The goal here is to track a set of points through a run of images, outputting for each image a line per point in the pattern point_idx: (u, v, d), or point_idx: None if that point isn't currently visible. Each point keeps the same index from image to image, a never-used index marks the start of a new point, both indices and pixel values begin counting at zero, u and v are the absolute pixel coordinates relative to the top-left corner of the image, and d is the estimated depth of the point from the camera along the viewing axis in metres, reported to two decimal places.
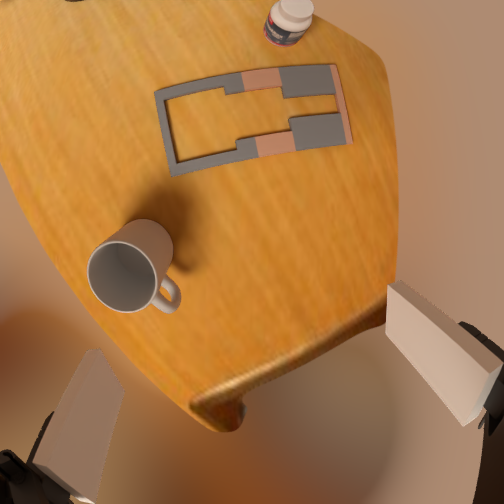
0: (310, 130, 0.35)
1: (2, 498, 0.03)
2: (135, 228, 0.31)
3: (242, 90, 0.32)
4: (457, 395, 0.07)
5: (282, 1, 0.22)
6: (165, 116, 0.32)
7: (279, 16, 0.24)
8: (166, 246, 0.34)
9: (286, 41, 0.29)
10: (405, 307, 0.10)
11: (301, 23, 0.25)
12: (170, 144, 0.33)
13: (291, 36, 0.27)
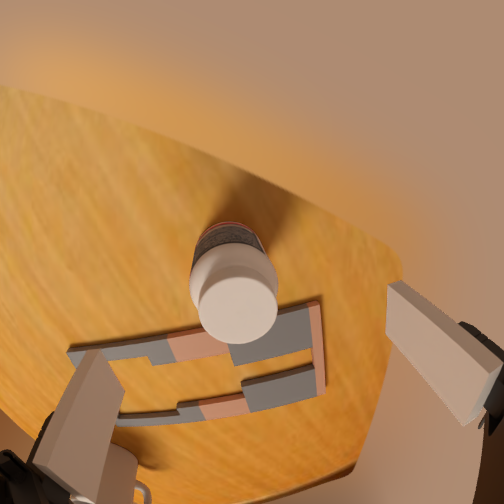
0: (269, 394, 0.27)
1: (2, 498, 0.03)
2: None
3: (173, 361, 0.24)
4: (457, 395, 0.07)
5: (202, 311, 0.14)
6: None
7: None
8: (129, 474, 0.26)
9: None
10: (405, 307, 0.10)
11: None
12: None
13: None
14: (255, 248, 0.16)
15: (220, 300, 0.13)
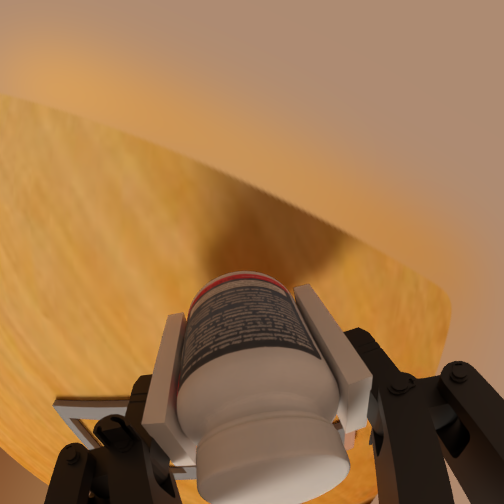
0: None
1: (86, 483, 0.05)
2: None
3: None
4: None
5: (204, 492, 0.05)
6: (82, 434, 0.18)
7: None
8: None
9: None
10: (303, 310, 0.12)
11: None
12: None
13: None
14: (306, 354, 0.07)
15: (241, 483, 0.05)
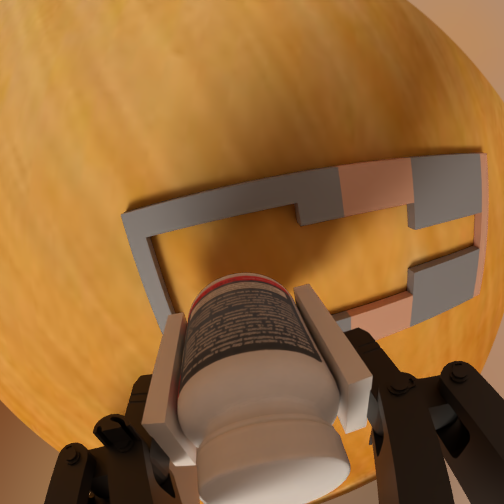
0: (437, 288, 0.17)
1: (86, 483, 0.05)
2: None
3: (338, 216, 0.15)
4: None
5: (205, 494, 0.05)
6: (157, 279, 0.15)
7: None
8: (194, 475, 0.17)
9: None
10: (303, 310, 0.12)
11: None
12: None
13: None
14: (306, 357, 0.07)
15: (242, 485, 0.05)
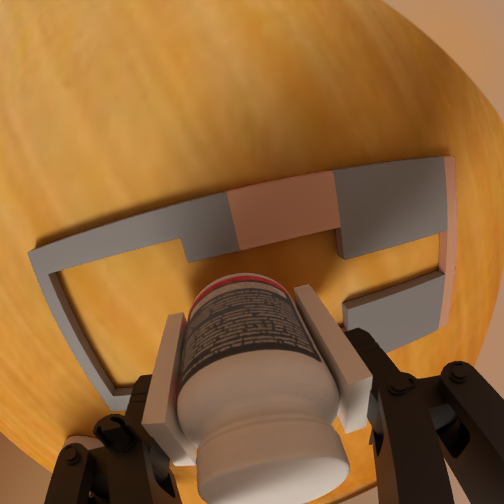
0: (384, 324, 0.16)
1: (86, 483, 0.05)
2: None
3: (233, 249, 0.13)
4: None
5: (205, 494, 0.05)
6: (63, 312, 0.13)
7: None
8: None
9: None
10: (303, 310, 0.12)
11: None
12: (91, 366, 0.14)
13: None
14: (306, 356, 0.07)
15: (242, 484, 0.05)
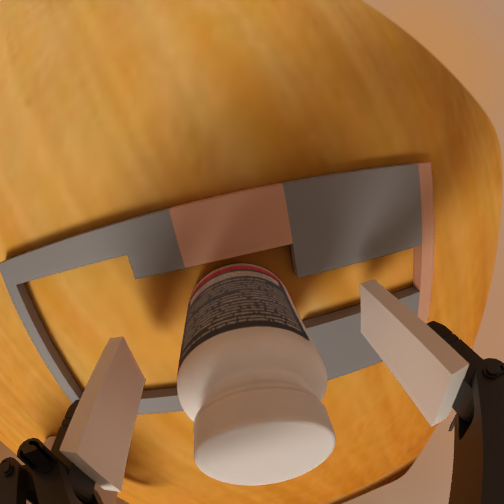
0: (349, 344, 0.15)
1: (23, 492, 0.04)
2: None
3: (178, 267, 0.13)
4: (424, 394, 0.07)
5: (201, 461, 0.06)
6: (31, 321, 0.13)
7: None
8: (105, 491, 0.15)
9: None
10: (375, 306, 0.11)
11: None
12: (58, 372, 0.14)
13: None
14: (294, 334, 0.08)
15: (234, 450, 0.06)
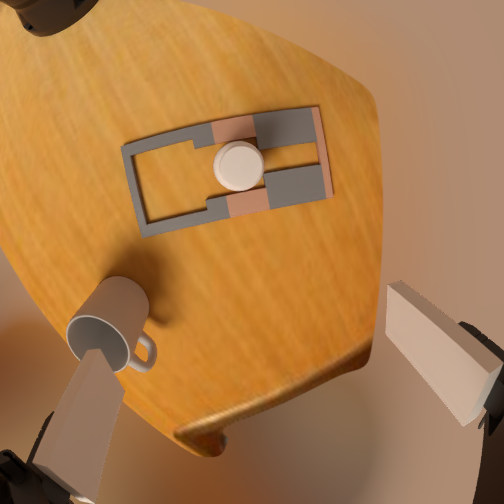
0: (286, 186, 0.34)
1: (2, 498, 0.03)
2: (108, 294, 0.31)
3: (212, 143, 0.32)
4: (457, 395, 0.07)
5: (222, 164, 0.25)
6: (133, 174, 0.32)
7: (221, 176, 0.27)
8: (140, 308, 0.34)
9: None
10: (405, 307, 0.10)
11: None
12: (139, 204, 0.33)
13: None
14: (251, 144, 0.28)
15: (232, 158, 0.25)
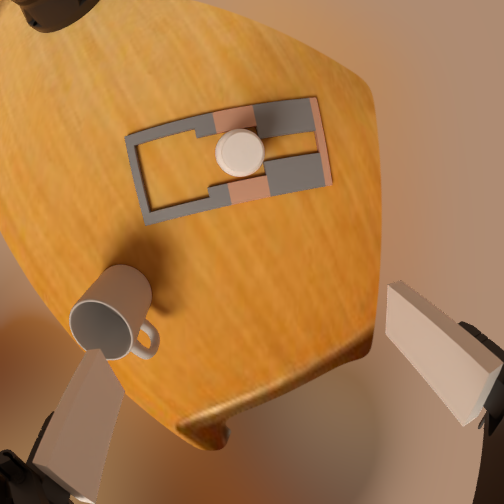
0: (286, 173, 0.35)
1: (2, 498, 0.03)
2: (112, 280, 0.31)
3: (214, 133, 0.32)
4: (457, 395, 0.07)
5: (224, 149, 0.26)
6: (136, 163, 0.32)
7: (223, 161, 0.28)
8: (143, 295, 0.34)
9: None
10: (405, 307, 0.10)
11: None
12: (142, 192, 0.33)
13: None
14: None
15: (233, 144, 0.26)
